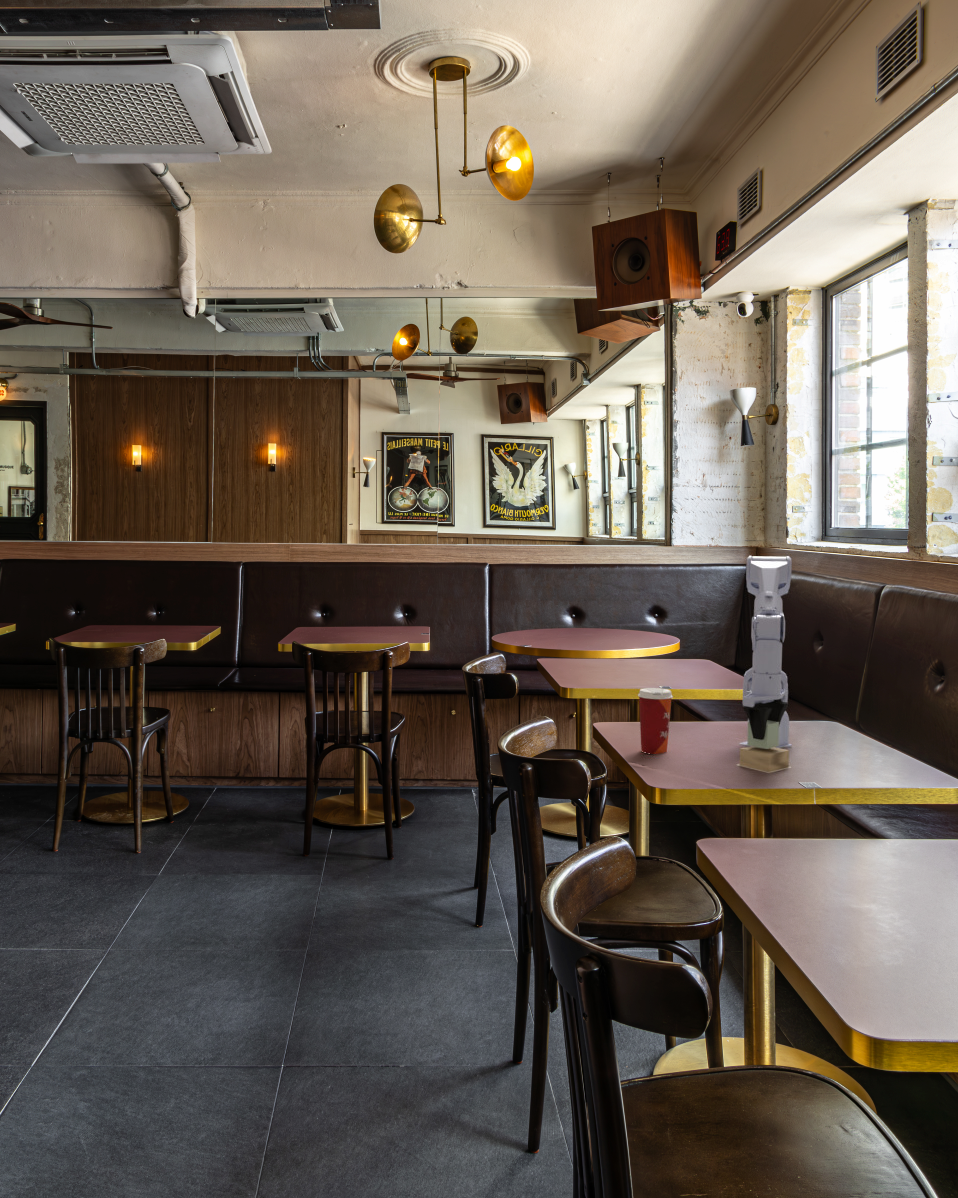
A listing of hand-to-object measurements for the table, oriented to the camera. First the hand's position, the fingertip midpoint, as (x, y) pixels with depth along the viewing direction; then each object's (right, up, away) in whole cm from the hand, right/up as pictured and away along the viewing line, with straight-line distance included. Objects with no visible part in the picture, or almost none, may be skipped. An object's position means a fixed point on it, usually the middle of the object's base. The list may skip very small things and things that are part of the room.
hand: (764, 737), depth 181 cm
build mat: (0, -7, 0) cm, 6 cm away
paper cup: (-20, -6, +14) cm, 25 cm away
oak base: (0, -6, 0) cm, 6 cm away
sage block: (0, -2, 0) cm, 2 cm away
